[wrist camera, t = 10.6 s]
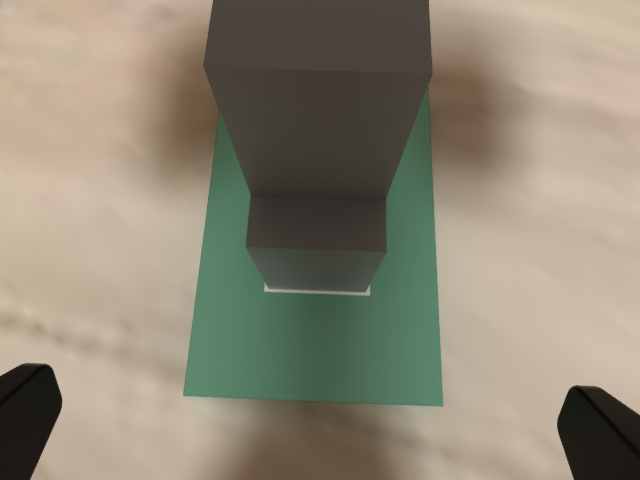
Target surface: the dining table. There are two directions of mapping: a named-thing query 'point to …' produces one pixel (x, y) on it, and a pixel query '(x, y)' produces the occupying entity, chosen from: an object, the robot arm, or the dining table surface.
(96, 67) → the dining table surface
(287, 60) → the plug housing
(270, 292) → the board
